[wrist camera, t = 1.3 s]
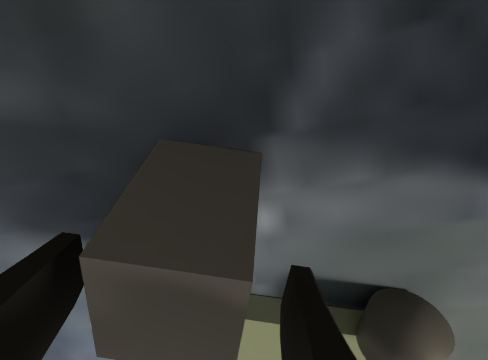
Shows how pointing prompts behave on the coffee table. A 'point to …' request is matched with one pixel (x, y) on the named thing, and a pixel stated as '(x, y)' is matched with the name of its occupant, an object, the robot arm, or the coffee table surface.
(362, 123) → the coffee table surface
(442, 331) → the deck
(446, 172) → the coffee table surface
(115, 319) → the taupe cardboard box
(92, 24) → the coffee table surface
